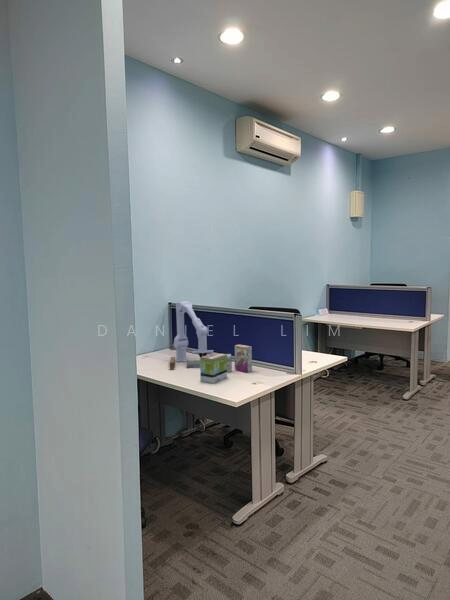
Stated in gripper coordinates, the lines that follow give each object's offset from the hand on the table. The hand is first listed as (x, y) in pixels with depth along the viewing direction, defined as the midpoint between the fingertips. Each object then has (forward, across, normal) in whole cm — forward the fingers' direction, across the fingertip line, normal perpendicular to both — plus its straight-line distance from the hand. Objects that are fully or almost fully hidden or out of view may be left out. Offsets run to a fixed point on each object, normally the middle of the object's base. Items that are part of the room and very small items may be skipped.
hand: (203, 364), depth 268 cm
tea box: (+2, +6, -34) cm, 34 cm away
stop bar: (+1, -21, 0) cm, 21 cm away
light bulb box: (+2, +13, -16) cm, 20 cm away
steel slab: (+2, -6, 0) cm, 6 cm away
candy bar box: (+1, +26, -17) cm, 31 cm away
